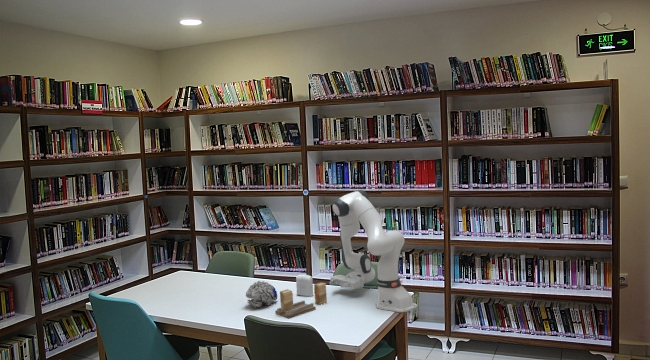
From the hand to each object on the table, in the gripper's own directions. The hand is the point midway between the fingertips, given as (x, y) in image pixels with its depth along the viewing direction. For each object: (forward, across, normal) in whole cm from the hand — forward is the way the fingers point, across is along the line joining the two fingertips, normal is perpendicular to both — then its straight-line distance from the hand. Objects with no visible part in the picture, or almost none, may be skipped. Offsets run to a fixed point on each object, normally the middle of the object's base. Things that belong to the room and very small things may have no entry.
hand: (335, 284), depth 297 cm
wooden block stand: (+30, 0, +8) cm, 31 cm away
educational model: (+35, -24, +8) cm, 43 cm away
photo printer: (+8, -18, +8) cm, 22 cm away
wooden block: (+12, 0, +8) cm, 14 cm away
